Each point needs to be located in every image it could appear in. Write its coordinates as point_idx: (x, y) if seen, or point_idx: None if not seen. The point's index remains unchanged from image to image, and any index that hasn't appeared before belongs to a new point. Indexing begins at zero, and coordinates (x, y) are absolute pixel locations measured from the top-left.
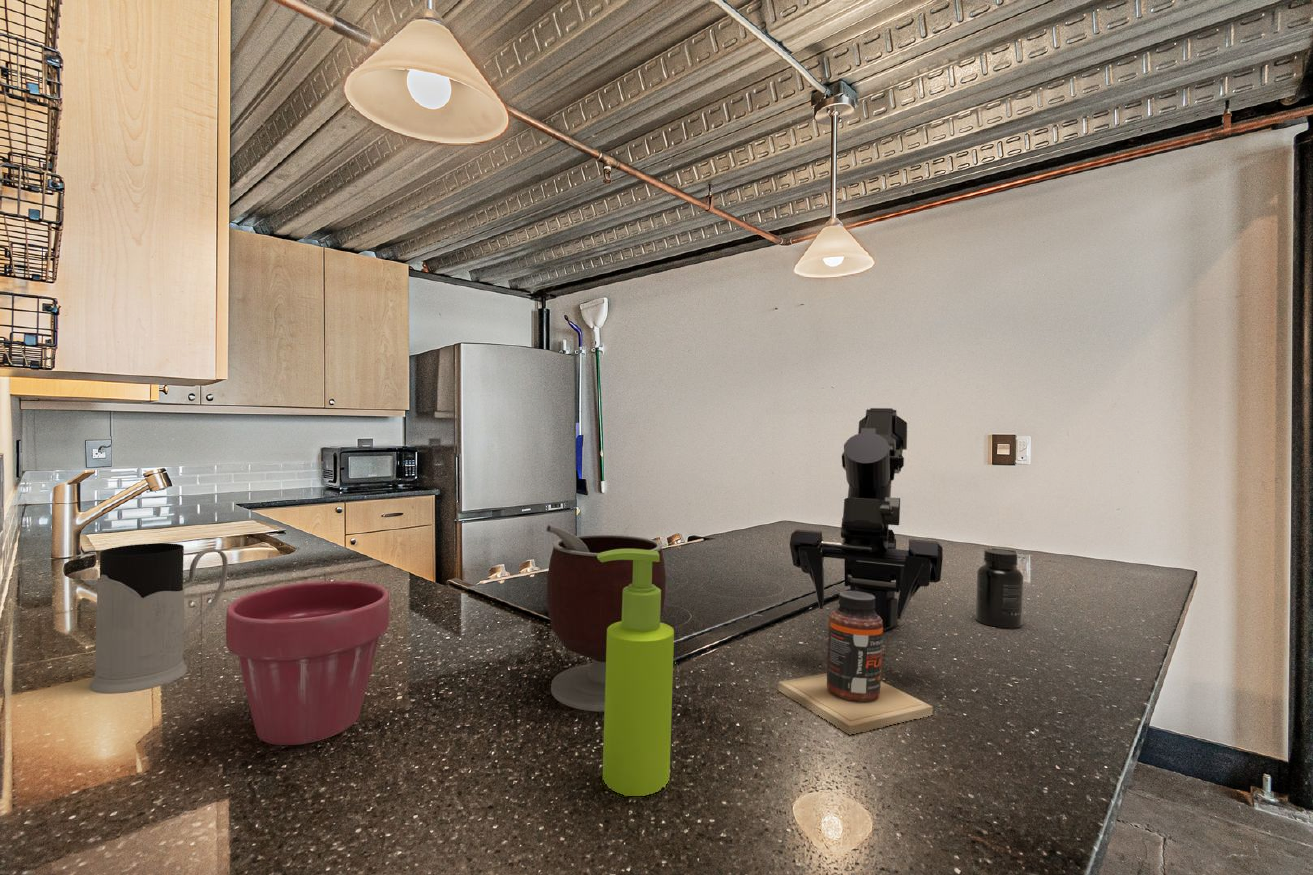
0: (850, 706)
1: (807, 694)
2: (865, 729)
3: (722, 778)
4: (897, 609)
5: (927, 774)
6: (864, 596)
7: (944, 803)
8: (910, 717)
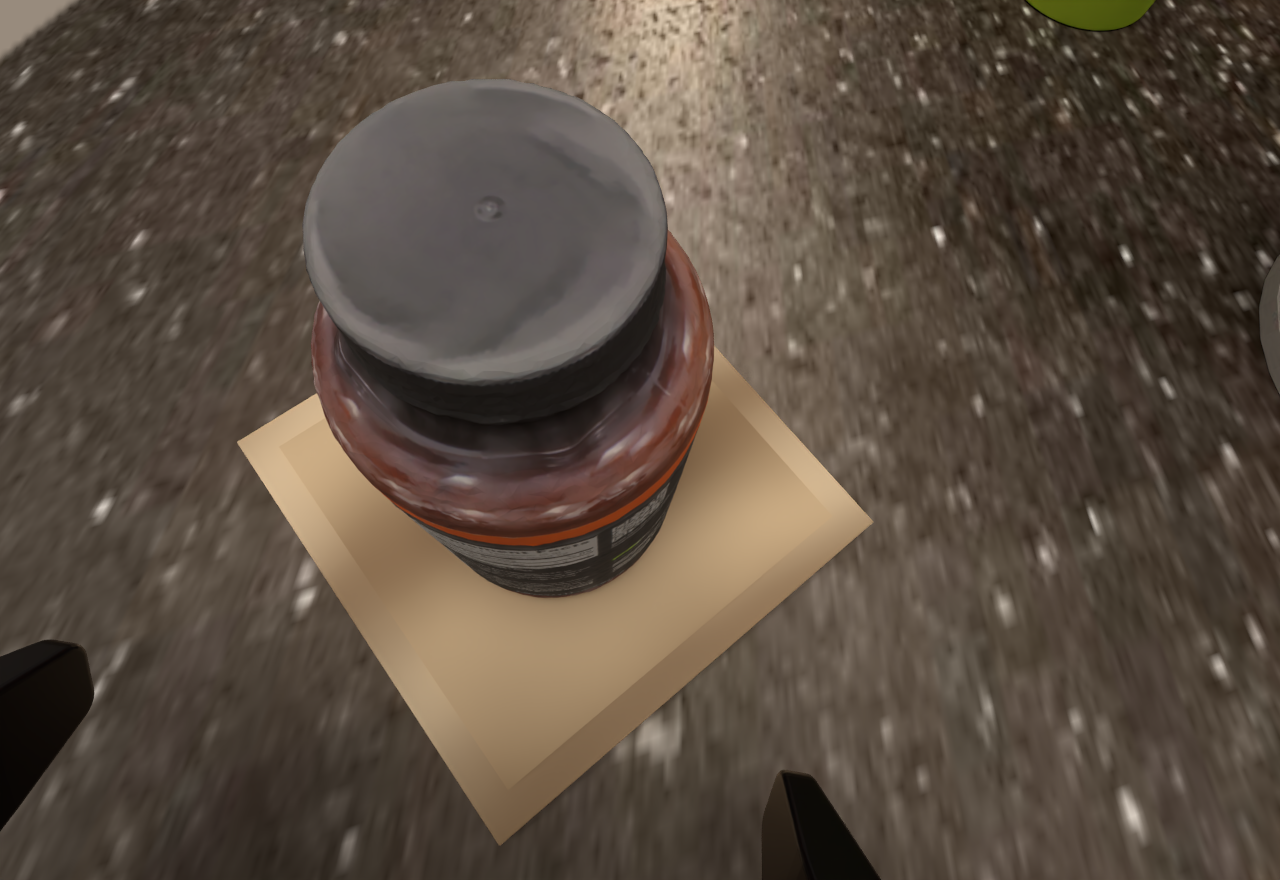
0: None
1: (743, 418)
2: None
3: (907, 5)
4: (32, 674)
5: None
6: (421, 165)
7: (418, 3)
8: None
